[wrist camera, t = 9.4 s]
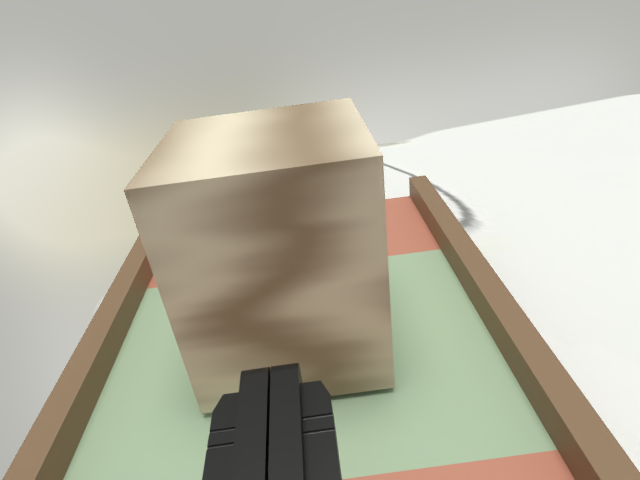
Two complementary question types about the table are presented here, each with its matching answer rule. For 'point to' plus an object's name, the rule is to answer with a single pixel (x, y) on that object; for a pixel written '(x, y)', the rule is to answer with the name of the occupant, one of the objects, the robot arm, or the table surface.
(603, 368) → the table surface
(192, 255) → the block
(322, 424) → the robot arm
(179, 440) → the tray
